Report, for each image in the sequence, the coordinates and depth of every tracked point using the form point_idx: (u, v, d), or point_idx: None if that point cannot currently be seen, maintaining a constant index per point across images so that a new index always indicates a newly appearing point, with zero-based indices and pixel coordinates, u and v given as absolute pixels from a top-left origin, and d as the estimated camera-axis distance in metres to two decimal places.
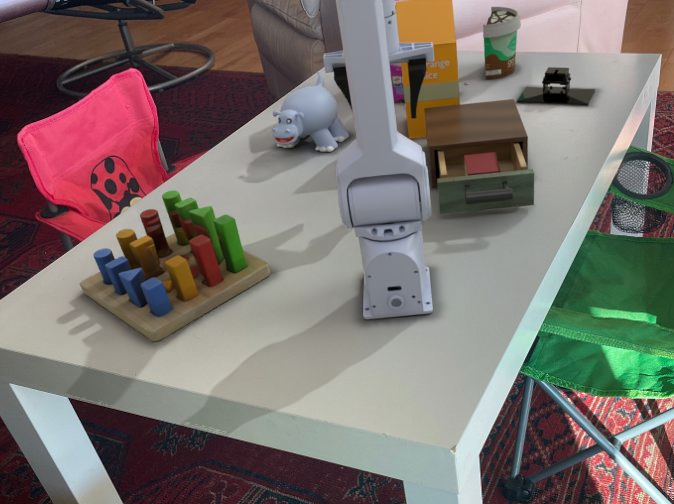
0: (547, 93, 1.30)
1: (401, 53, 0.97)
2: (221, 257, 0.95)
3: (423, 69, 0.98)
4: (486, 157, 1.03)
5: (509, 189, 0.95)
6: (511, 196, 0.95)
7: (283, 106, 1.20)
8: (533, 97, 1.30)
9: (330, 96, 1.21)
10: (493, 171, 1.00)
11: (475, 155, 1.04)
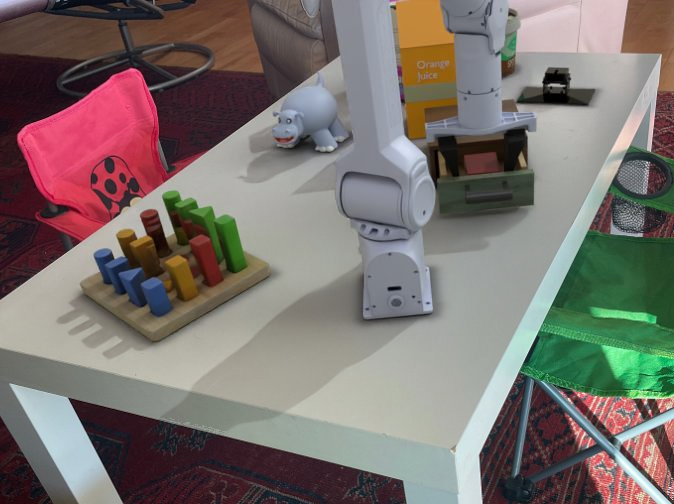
0: (547, 93, 1.30)
1: (505, 125, 0.96)
2: (221, 257, 0.95)
3: (523, 140, 0.97)
4: (486, 157, 1.03)
5: (509, 189, 0.95)
6: (511, 196, 0.95)
7: (283, 106, 1.20)
8: (533, 97, 1.30)
9: (330, 96, 1.21)
10: (493, 171, 1.00)
11: (475, 155, 1.04)
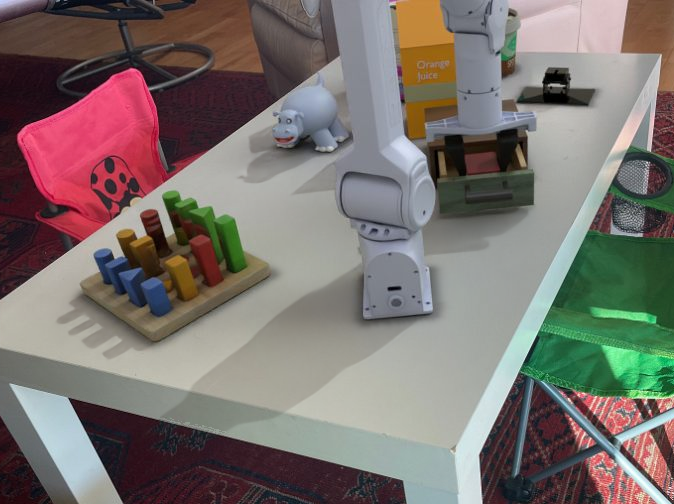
0: (547, 93, 1.30)
1: (505, 124, 0.96)
2: (221, 257, 0.95)
3: (516, 141, 0.97)
4: (486, 157, 1.03)
5: (509, 189, 0.95)
6: (511, 196, 0.95)
7: (283, 106, 1.20)
8: (533, 97, 1.30)
9: (330, 96, 1.21)
10: (493, 171, 0.99)
11: (475, 155, 1.04)
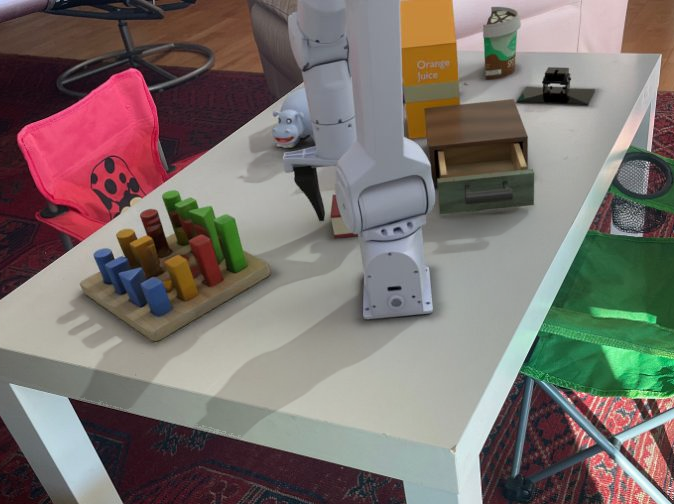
0: (547, 93, 1.30)
1: None
2: (221, 257, 0.95)
3: None
4: None
5: (509, 189, 0.95)
6: (511, 196, 0.95)
7: (283, 106, 1.20)
8: (533, 97, 1.30)
9: None
10: None
11: None
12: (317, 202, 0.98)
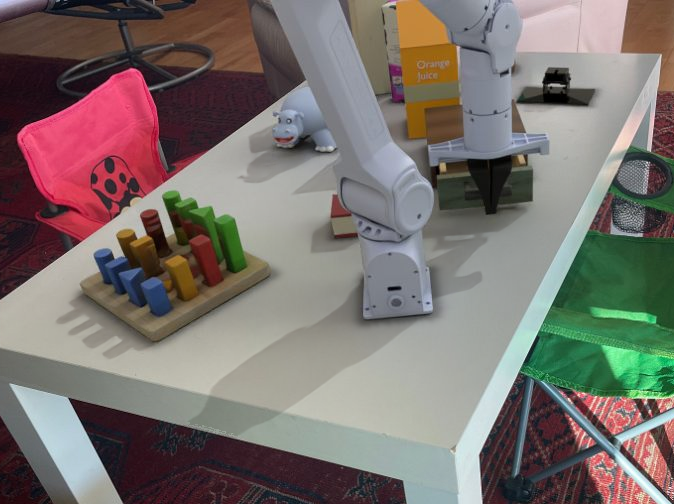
0: (547, 93, 1.30)
1: (515, 147, 0.88)
2: (221, 257, 0.95)
3: (509, 167, 0.89)
4: None
5: (508, 185, 0.96)
6: (510, 192, 0.96)
7: (283, 106, 1.20)
8: (533, 97, 1.30)
9: None
10: None
11: None
12: (488, 195, 0.93)
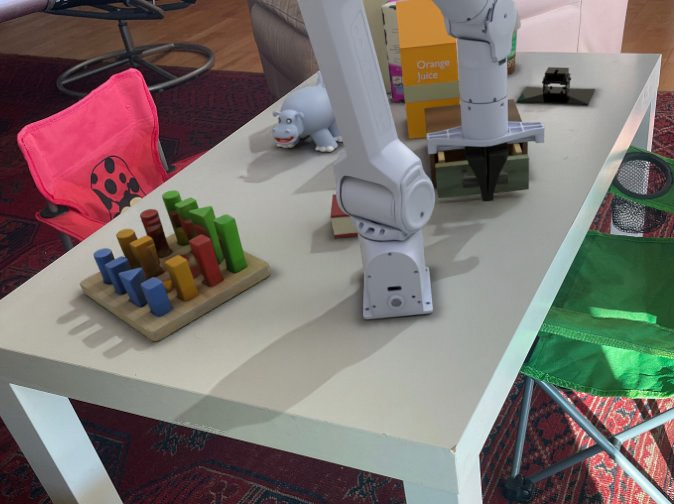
0: (547, 93, 1.30)
1: (511, 135, 0.91)
2: (221, 257, 0.95)
3: (505, 154, 0.92)
4: None
5: (504, 173, 0.99)
6: (506, 180, 0.99)
7: (283, 106, 1.20)
8: (533, 97, 1.30)
9: None
10: None
11: None
12: (485, 182, 0.96)
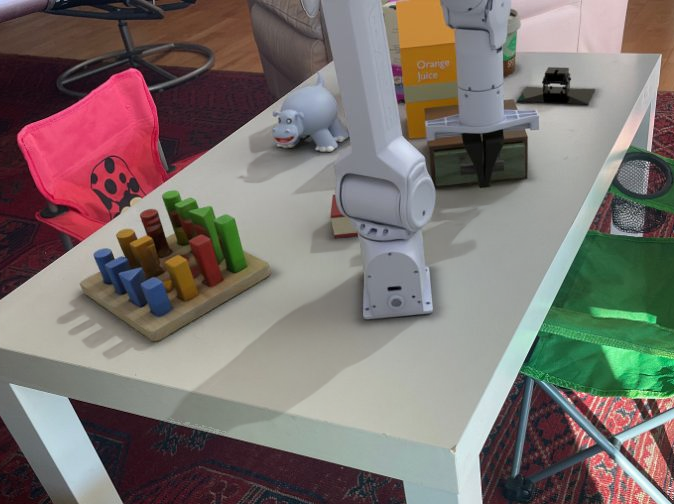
0: (547, 93, 1.30)
1: (507, 122, 0.94)
2: (221, 257, 0.95)
3: (501, 141, 0.95)
4: None
5: (501, 161, 1.02)
6: (503, 167, 1.02)
7: (283, 106, 1.20)
8: (533, 97, 1.30)
9: (330, 96, 1.21)
10: None
11: None
12: (482, 168, 0.99)
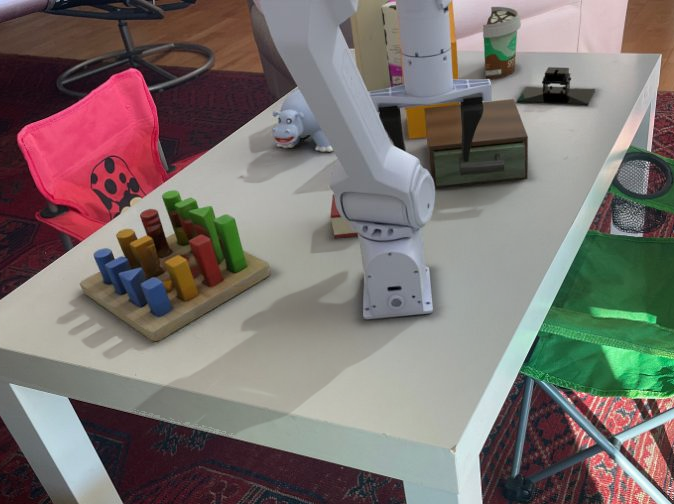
0: (547, 93, 1.30)
1: (456, 92, 0.86)
2: (221, 257, 0.95)
3: (480, 110, 0.87)
4: None
5: (501, 161, 1.02)
6: (503, 167, 1.02)
7: (283, 106, 1.20)
8: (533, 97, 1.30)
9: None
10: None
11: None
12: (402, 146, 0.91)
